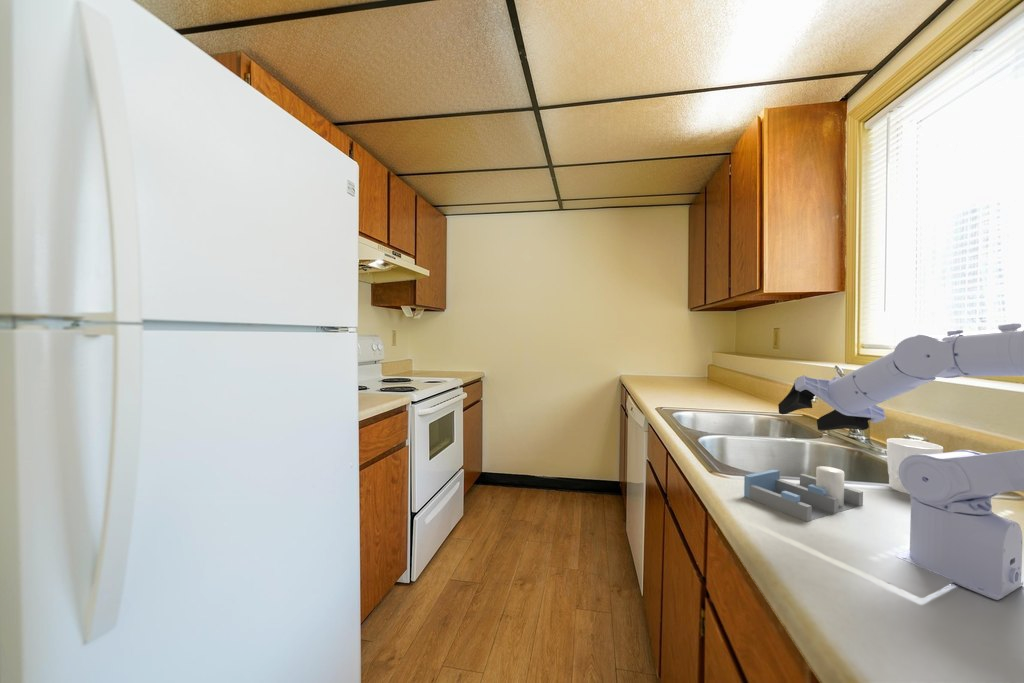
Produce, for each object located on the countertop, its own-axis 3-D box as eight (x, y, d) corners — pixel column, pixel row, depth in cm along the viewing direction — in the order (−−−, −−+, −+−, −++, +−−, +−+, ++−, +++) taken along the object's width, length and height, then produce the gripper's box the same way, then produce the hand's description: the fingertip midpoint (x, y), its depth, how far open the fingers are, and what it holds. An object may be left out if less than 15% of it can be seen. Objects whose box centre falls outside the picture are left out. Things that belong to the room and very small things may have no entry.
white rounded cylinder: (848, 504, 72) (849, 472, 71) (835, 508, 70) (836, 475, 70) (823, 496, 75) (824, 465, 75) (810, 499, 74) (811, 468, 74)
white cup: (954, 501, 75) (956, 449, 75) (912, 501, 75) (913, 448, 75) (913, 485, 83) (914, 438, 82) (874, 485, 83) (875, 437, 83)
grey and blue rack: (862, 508, 72) (863, 482, 72) (806, 525, 65) (807, 497, 65) (798, 486, 82) (798, 464, 82) (744, 499, 75) (744, 475, 75)
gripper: (906, 382, 64) (833, 414, 75) (823, 347, 64) (762, 384, 76) (918, 420, 60) (838, 447, 71) (829, 383, 60) (763, 416, 72)
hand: (799, 417), depth 73 cm, fingers open, 7 cm apart
